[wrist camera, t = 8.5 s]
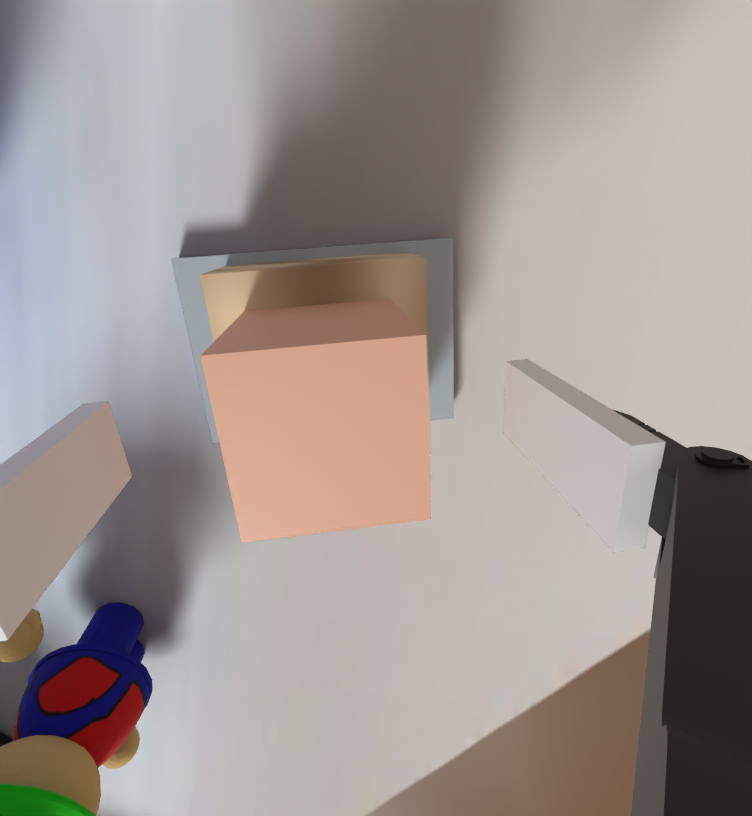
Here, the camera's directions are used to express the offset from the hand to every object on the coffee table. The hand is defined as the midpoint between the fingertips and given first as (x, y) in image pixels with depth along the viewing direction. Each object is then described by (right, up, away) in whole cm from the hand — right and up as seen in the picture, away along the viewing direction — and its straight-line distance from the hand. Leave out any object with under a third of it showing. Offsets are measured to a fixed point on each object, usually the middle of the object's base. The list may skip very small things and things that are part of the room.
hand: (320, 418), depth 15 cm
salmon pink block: (0, +2, +4) cm, 5 cm away
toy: (-16, -15, +16) cm, 28 cm away
